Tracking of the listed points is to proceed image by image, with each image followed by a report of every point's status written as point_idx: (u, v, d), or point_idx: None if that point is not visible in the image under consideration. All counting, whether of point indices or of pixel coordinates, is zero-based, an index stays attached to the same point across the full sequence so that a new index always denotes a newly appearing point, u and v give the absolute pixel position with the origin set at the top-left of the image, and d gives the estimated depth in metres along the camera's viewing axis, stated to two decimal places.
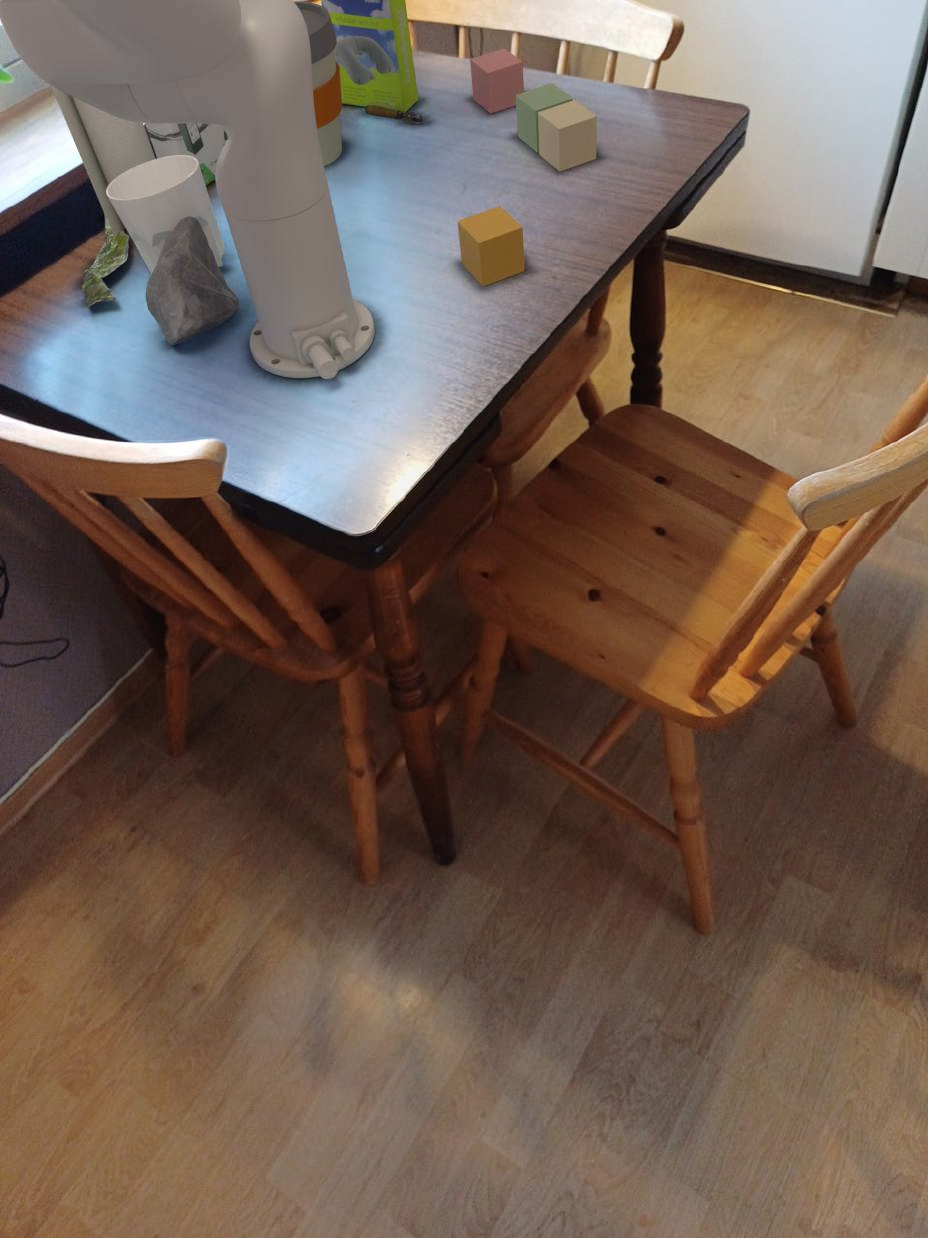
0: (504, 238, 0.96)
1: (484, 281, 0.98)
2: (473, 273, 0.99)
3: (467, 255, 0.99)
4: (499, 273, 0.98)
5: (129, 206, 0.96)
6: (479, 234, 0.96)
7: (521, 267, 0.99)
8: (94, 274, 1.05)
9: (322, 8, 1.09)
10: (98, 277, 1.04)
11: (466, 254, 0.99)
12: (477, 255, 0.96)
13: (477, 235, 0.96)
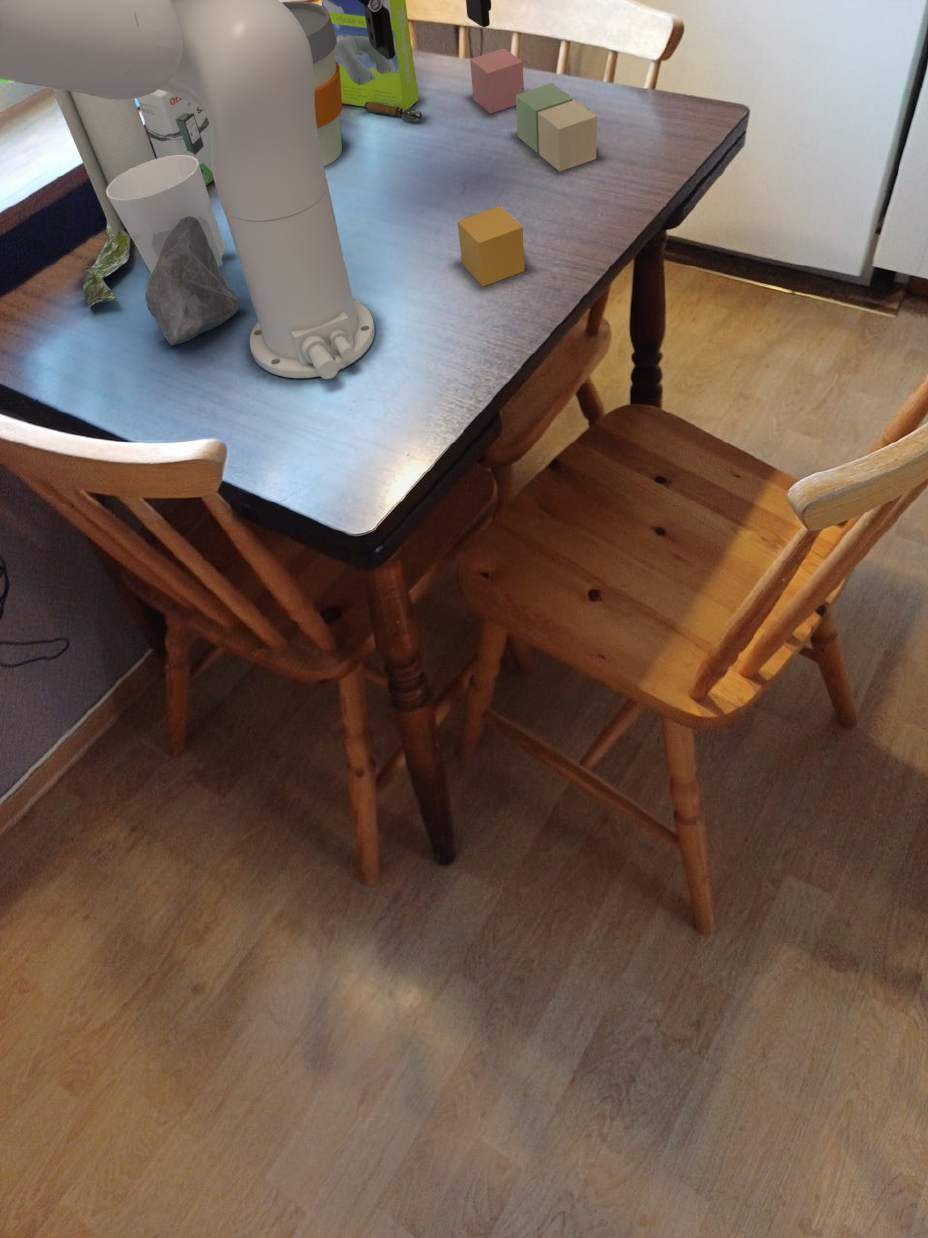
0: (504, 238, 0.96)
1: (484, 281, 0.98)
2: (473, 273, 0.99)
3: (467, 255, 0.99)
4: (499, 273, 0.98)
5: (129, 206, 0.96)
6: (479, 234, 0.96)
7: (521, 267, 0.99)
8: (95, 274, 1.05)
9: (322, 8, 1.09)
10: (99, 277, 1.04)
11: (466, 254, 0.99)
12: (477, 255, 0.96)
13: (477, 235, 0.96)
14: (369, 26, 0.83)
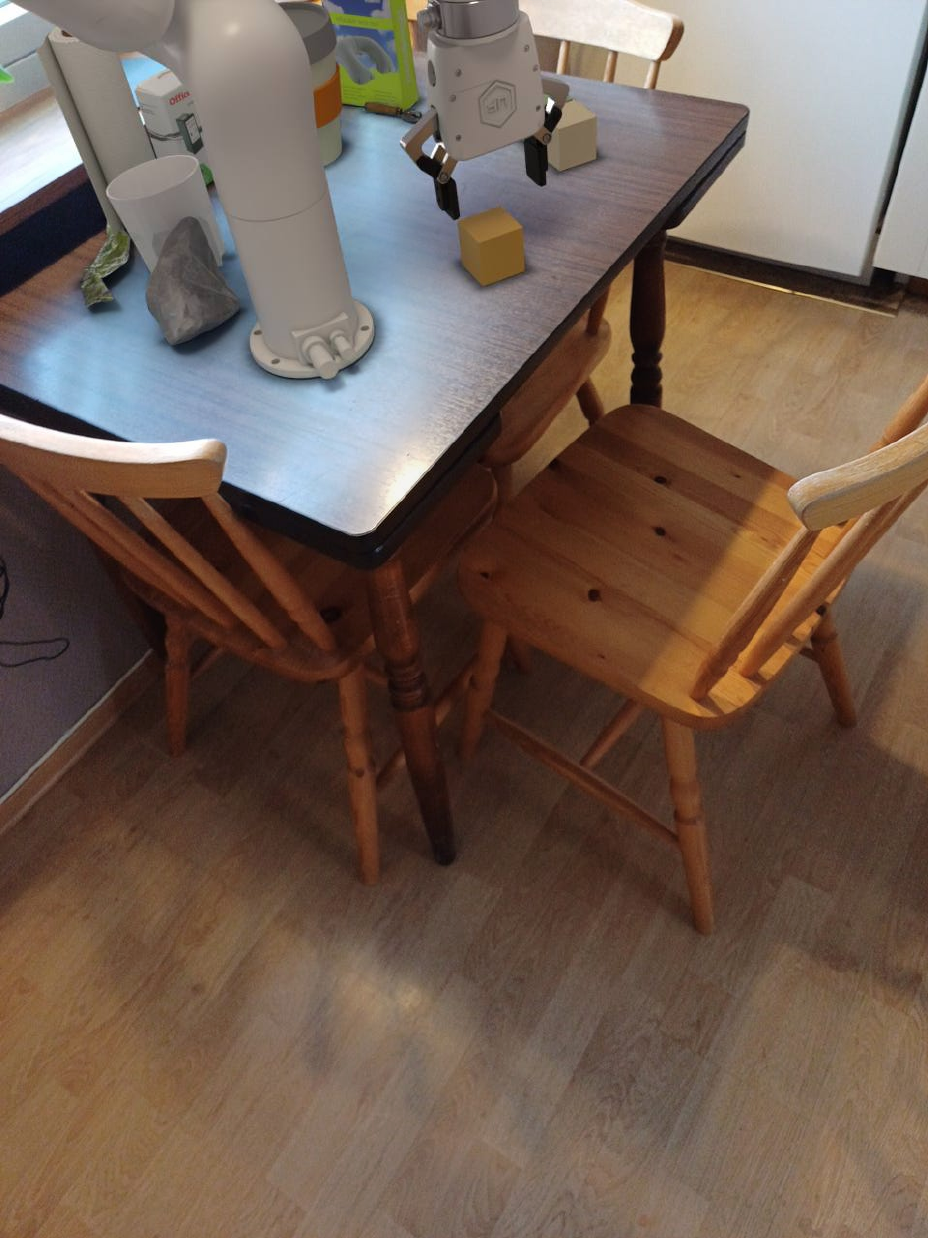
0: (504, 238, 0.96)
1: (484, 281, 0.98)
2: (473, 273, 0.99)
3: (467, 255, 0.99)
4: (499, 273, 0.98)
5: (129, 206, 0.96)
6: (479, 234, 0.96)
7: (521, 267, 0.99)
8: (94, 273, 1.05)
9: (322, 8, 1.09)
10: (98, 277, 1.04)
11: (466, 254, 0.99)
12: (477, 255, 0.96)
13: (477, 235, 0.96)
14: (437, 192, 0.92)
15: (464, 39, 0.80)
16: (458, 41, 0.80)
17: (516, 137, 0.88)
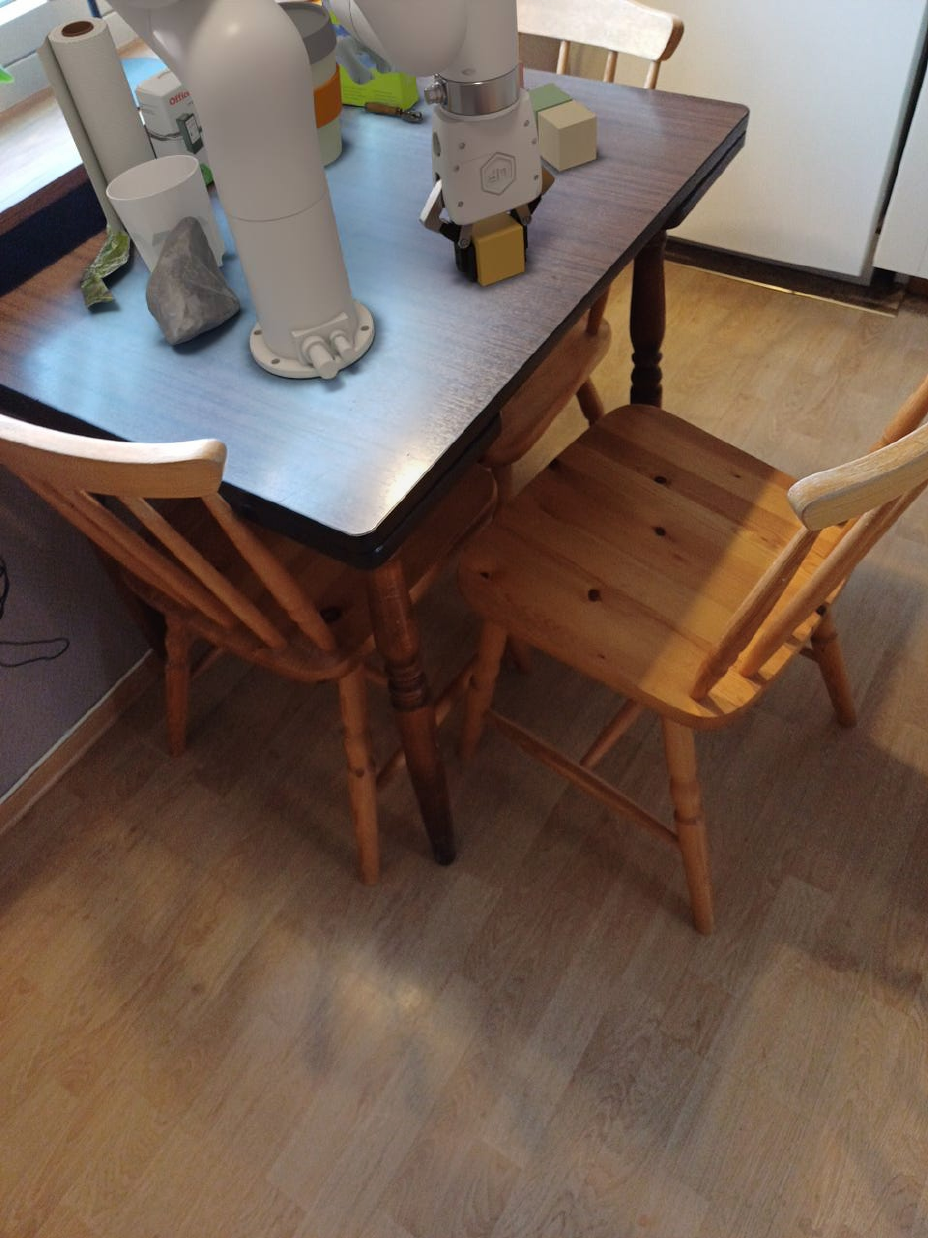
0: (504, 238, 0.96)
1: (484, 281, 0.98)
2: None
3: None
4: (499, 273, 0.98)
5: (129, 206, 0.96)
6: (479, 234, 0.96)
7: (521, 267, 0.99)
8: (94, 273, 1.05)
9: (322, 8, 1.09)
10: (98, 277, 1.04)
11: None
12: (477, 255, 0.96)
13: (477, 235, 0.96)
14: (457, 255, 0.98)
15: (468, 115, 0.85)
16: (462, 117, 0.85)
17: (515, 204, 0.93)
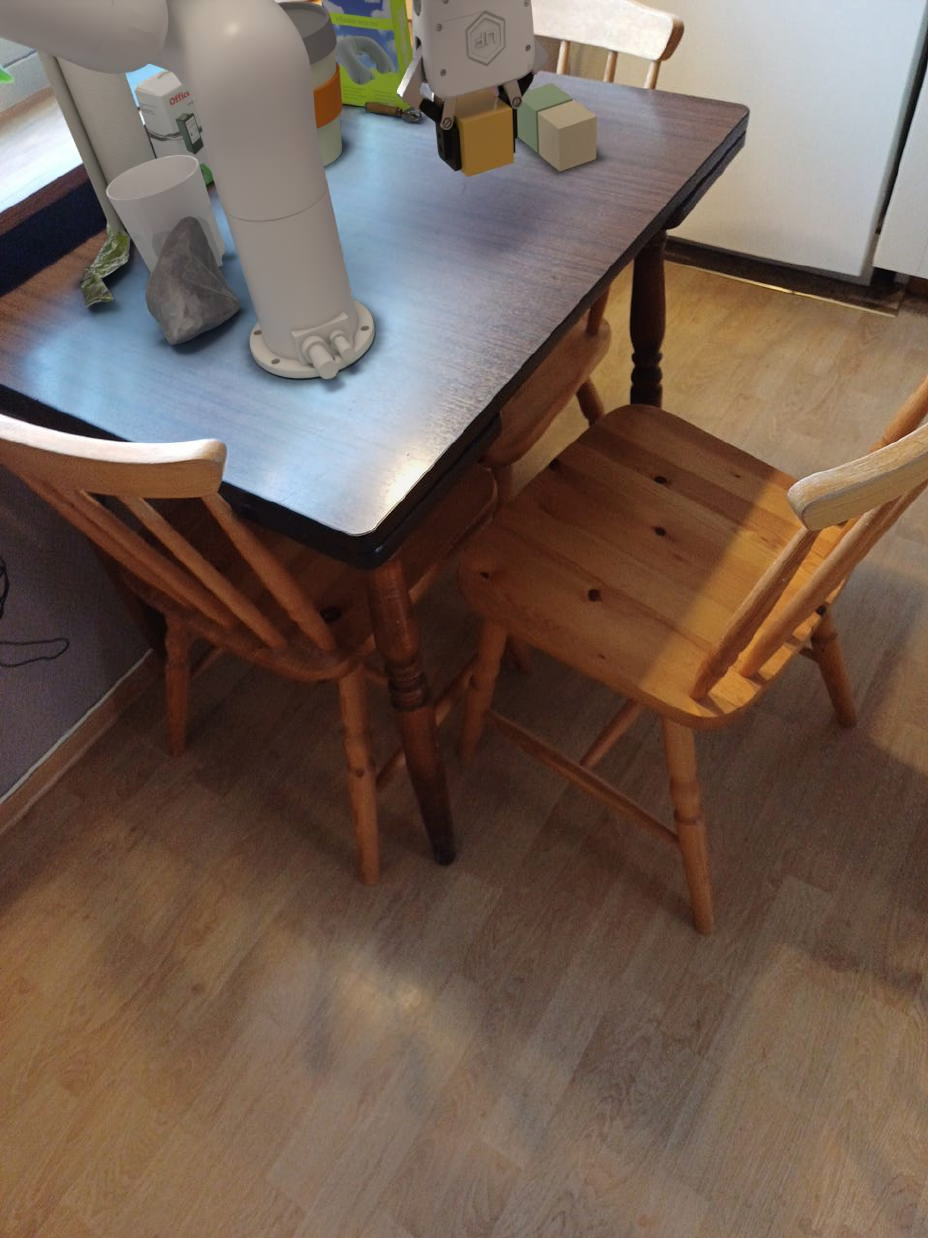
0: (491, 120, 0.86)
1: (469, 171, 0.89)
2: None
3: None
4: (485, 163, 0.89)
5: (129, 206, 0.96)
6: (464, 115, 0.86)
7: (510, 157, 0.90)
8: (94, 273, 1.05)
9: (322, 8, 1.09)
10: (98, 277, 1.04)
11: None
12: (462, 139, 0.87)
13: (461, 115, 0.86)
14: (439, 140, 0.88)
15: None
16: None
17: (504, 78, 0.84)
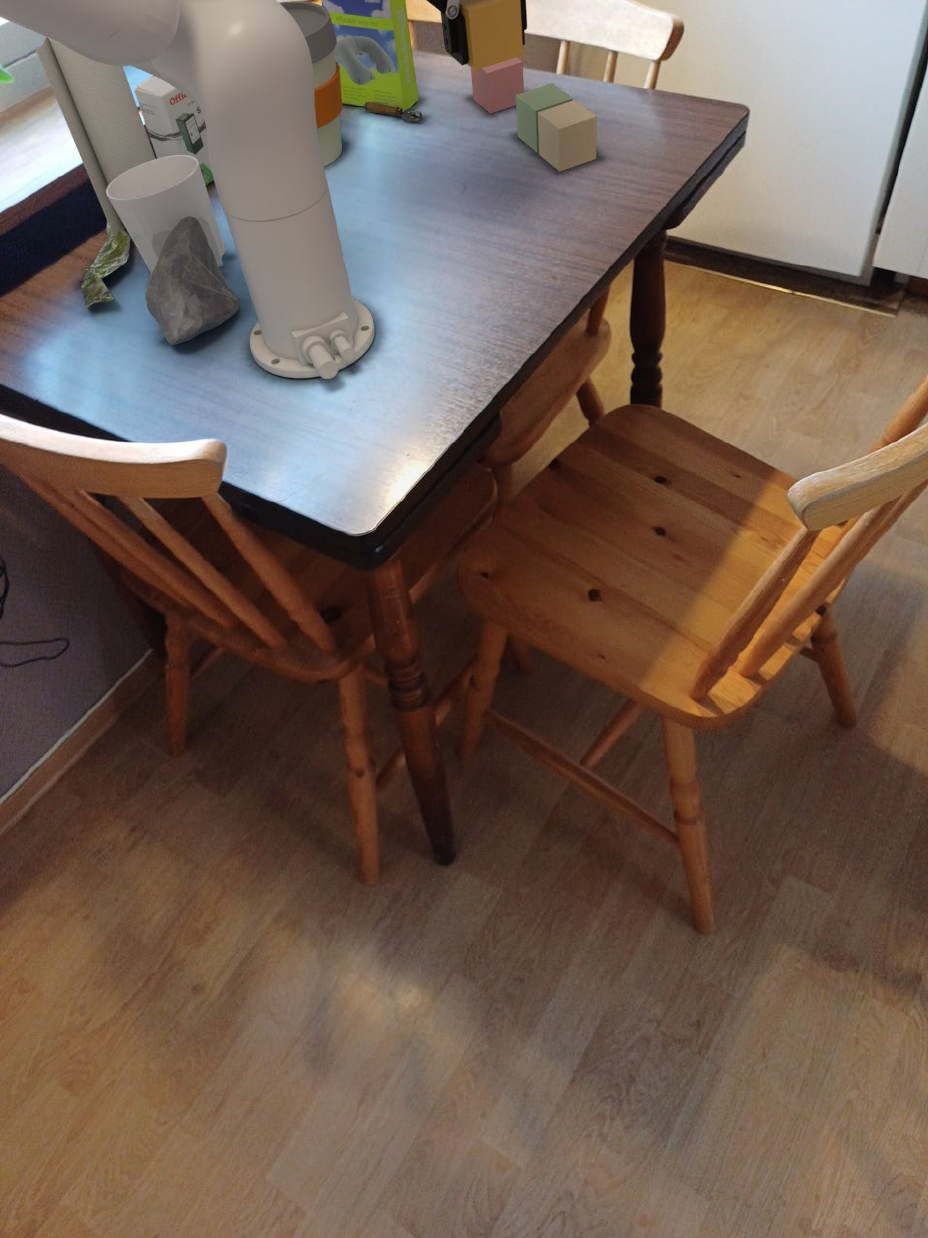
0: (498, 7, 0.83)
1: (476, 63, 0.86)
2: None
3: None
4: (493, 55, 0.86)
5: (129, 206, 0.96)
6: (470, 3, 0.83)
7: (519, 49, 0.87)
8: (94, 273, 1.05)
9: (322, 8, 1.09)
10: (98, 277, 1.04)
11: None
12: (468, 29, 0.84)
13: (467, 3, 0.83)
14: (445, 32, 0.85)
15: None
16: None
17: None
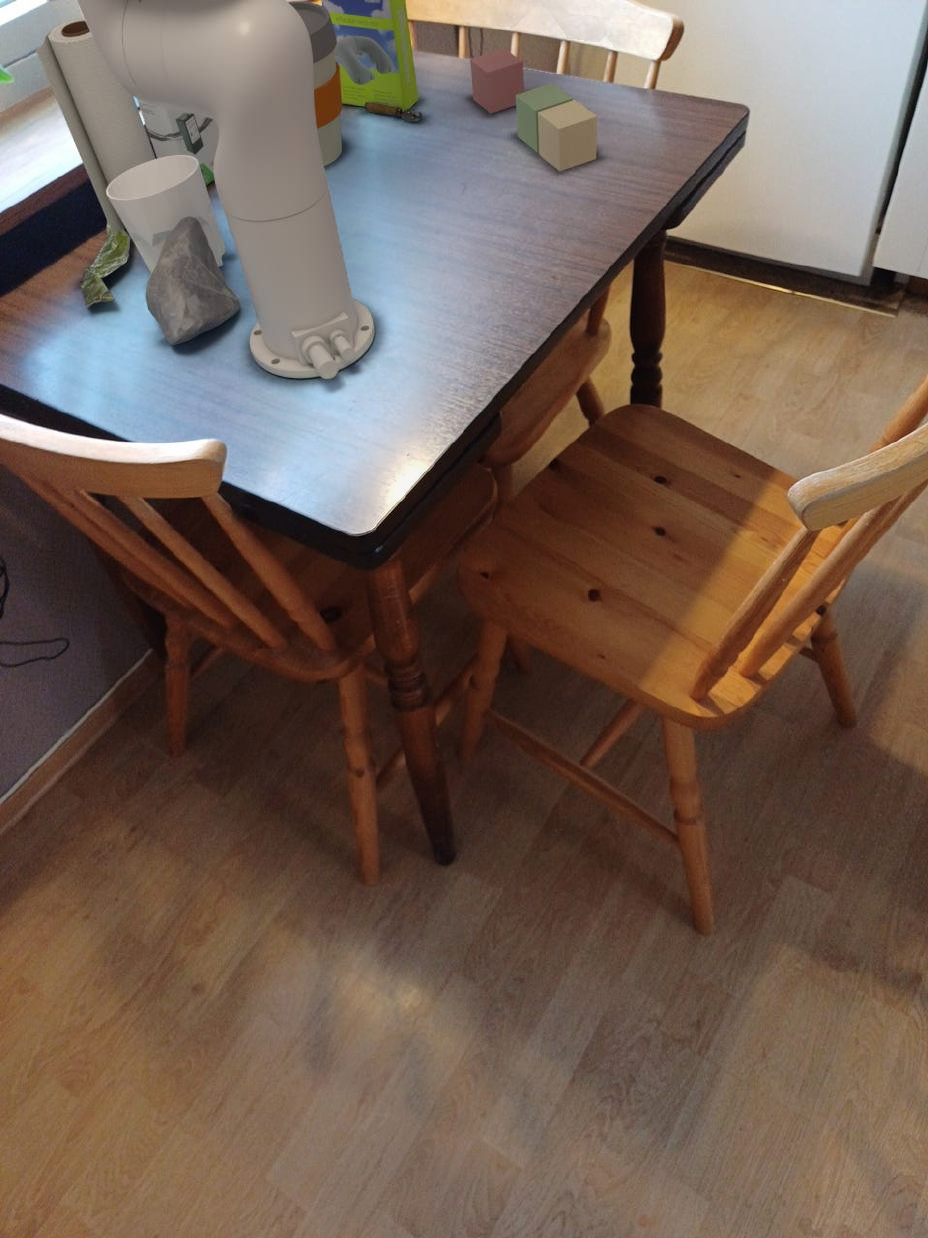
0: None
1: None
2: None
3: None
4: None
5: (129, 206, 0.96)
6: None
7: None
8: (94, 273, 1.05)
9: (322, 8, 1.09)
10: (98, 277, 1.04)
11: None
12: None
13: None
14: None
15: None
16: None
17: None
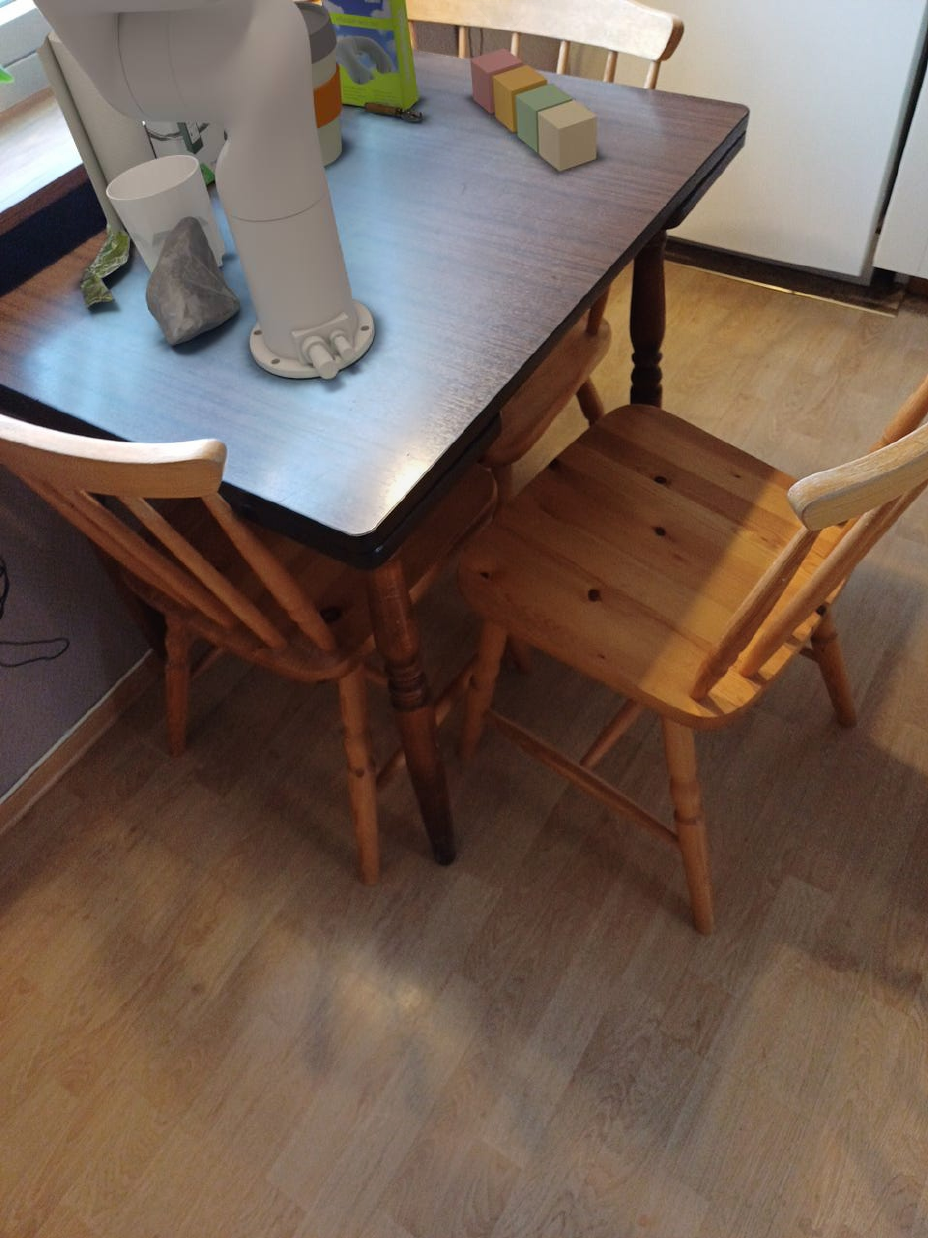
0: (532, 88, 1.15)
1: (514, 127, 1.18)
2: (505, 122, 1.19)
3: (500, 106, 1.18)
4: None
5: (129, 206, 0.96)
6: (511, 85, 1.15)
7: None
8: (94, 273, 1.05)
9: (322, 8, 1.09)
10: (98, 277, 1.04)
11: (499, 106, 1.18)
12: (509, 103, 1.16)
13: (509, 85, 1.15)
14: None
15: None
16: None
17: None
